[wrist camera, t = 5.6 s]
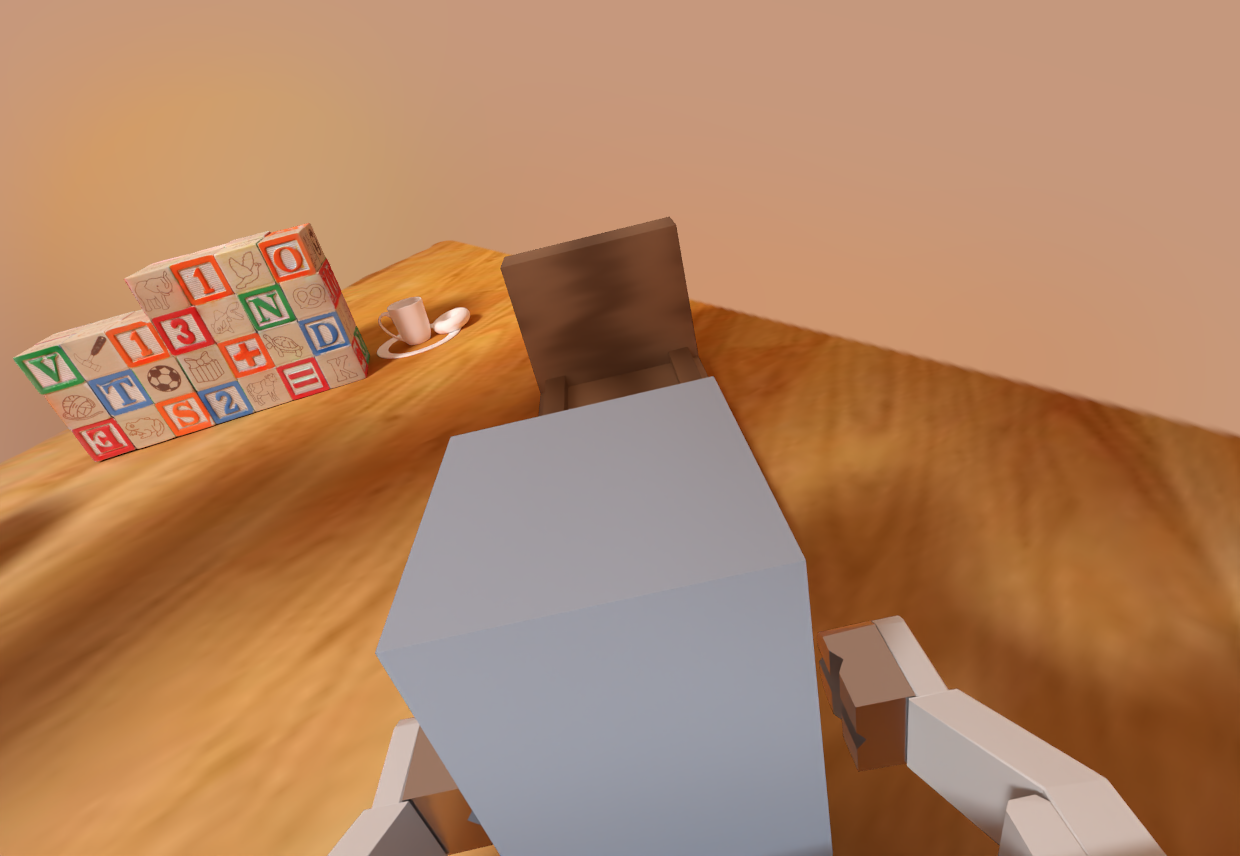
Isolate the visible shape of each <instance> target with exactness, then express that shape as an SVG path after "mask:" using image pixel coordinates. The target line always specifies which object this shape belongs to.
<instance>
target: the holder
mask: <svg viewBox="0 0 1240 856" xmlns="http://www.w3.org/2000/svg"><path fill="white" fill-rule="evenodd" d="M501 271H502V274H503V277H504V281H505V284H506V287H507V290H508V293H509V296H510V299H511V302H512V305H513V309H514V312H515V315H516V318H517V321H518V324H519V327H520V330H521V333H522V337H523V340H524V343H525V346H526V349H527V352H528V355H529V358H530V361H531V365H532V368H533V371H534V374H535V377H536V380H537V383H538V386H539V389H540V393H541V396H540V406H539V416H543V415H547V414H552V413H556V412H560V411H565V410H569V409H573V408H578V407H582V406H586V405H591V404H595V403H599V402H604V401H608V400H612V399H617V398H621V397H625V396H630V395H634V394H638V393H642V392H647V391H651V390H655V389H660V388H664V387H668V386H673V385H677V384H681V383H686V382H690V381H694V380H699V379H703V378H707V377H708V375H707V373H706V371H705V369H704V367H703V365H702V363H701V360H700V358H699V356H698V350H697V344H696V338H695V333H694V327H693V321H692V315H691V309H690V303H689V297H688V292H687V286H686V280H685V274H684V268H683V263H682V257H681V251H680V245H679V239H678V233H677V227H676V224H675V223H674V222H673V220H672V219H671V218H670V217H666V218H662V219H659V220H654V221H650V222H646V223H642V224H638V225H634V226H630V227H626V228H622V229H617V230H614V231H609V232H605V233H601V234H597V235H593V236H589V237H585V238H581V239H577V240H573V241H569V242H565V243H560V244H557V245H552V246H548V247H544V248H540V249H536V250H532V251H528V252H524V253H520V254H516V255H511V256H507V257H505V258H504V260H503V263H502V265H501ZM539 416H538V417H539Z"/></svg>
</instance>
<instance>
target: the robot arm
mask: <svg viewBox="0 0 1240 856" xmlns="http://www.w3.org/2000/svg"><path fill="white" fill-rule="evenodd" d="M817 644H818V648H819V650H820V652H821V655H822V659H821V660H820V661H819V666H820V674H821V678H822V683H823V687H824V690H825V693H826V696H827V699H828V701H829V704H830V706H831V709H832V711H833V714H835V715H836V716H837V717H839V718H840V719H842V728H843V737H844V740H845V742H846V744H847V747H848V749H849V751H850V753H851V756H852V758H853V760H854V763H855V765H856V767H857V770H858V772H860V771H866V770H872V769H877V768H883V767H889V766H895V765H901V764H907V767H909V768H910V769H911V770H912V771H913V772H914V773H916V774H917V775H918V776H919V777H920V778H921V779H923V780H924V781H925V782H926V783H927V784H928V785H930V786H931V787H932V788H933V789H934V790H935V791H937V792H938V793H939V794H940V795H941V796H942V797H944V798H945V799H946V800H947V801H948V802H949V803H951V804H952V805H953V806H954V807H955V808H956V809H958V810H959V811H960V812H961V813H962V814H963V815H965V816H966V817H967V818H968V819H969V820H970V821H972V822H973V823H974V824H975V825H976V826H977V827H979V828H980V829H981V830H982V831H983V832H984V833H986V834H987V835H988V836H989V837H990V838H991V839H992V840H994V841H995V842H996V843H997V844H998V845H999V846H1000V847H999V852H998V856H1167V855H1166V854H1165V853H1164V851H1163V850H1162V849H1161V848H1160V846H1159V845H1158V844H1157V842H1156V841H1155V840H1154V839H1153V837H1152V836H1151V835H1150V833H1149V832H1148V831H1147V830H1146V828H1145V827H1144V826H1143V824H1142V823H1141V822H1140V821H1139V819H1138V818H1137V817H1136V816H1135V814H1134V813H1133V812H1132V810H1131V809H1130V808H1129V807H1128V805H1127V804H1126V803H1125V801H1124V800H1123V799H1122V798H1121V796H1120V795H1119V794H1118V792H1117V791H1116V790H1115V789H1114V787H1113V786H1112V785H1111V783H1110V782H1109V781H1108V780H1107V779H1106V778H1105V777H1103V776H1101V775H1100V774H1098V773H1096V772H1095V771H1093V770H1091V769H1090V768H1088V767H1087V766H1085V765H1083V764H1082V763H1080V762H1078V761H1077V760H1075V759H1073V758H1072V757H1070V756H1068V755H1067V754H1065V753H1063V752H1062V751H1060V750H1058V749H1057V748H1055V747H1053V746H1052V745H1050V744H1048V743H1047V742H1045V741H1043V740H1042V739H1040V738H1038V737H1037V736H1035V735H1034V734H1032V733H1030V732H1029V731H1027V730H1025V729H1024V728H1022V727H1020V726H1019V725H1017V724H1015V723H1014V722H1012V721H1010V720H1009V719H1007V718H1005V717H1004V716H1002V715H1000V714H999V713H997V712H995V711H994V710H992V709H990V708H989V707H987V706H986V705H984V704H982V703H981V702H979V701H977V700H976V699H974V698H972V697H971V696H969V695H967V694H966V693H964V692H962V691H961V690H959V689H951V690H949V689H948V688H947V686H946V685H945V683H944V681H943V680H942V678H941V677H940V675H939V674H938V672H937V671H936V669H935V667H934V666H933V664H932V663H931V661H930V660H929V658H928V656H927V655H926V653H925V652H924V650H923V649H922V647H921V646H920V644H919V642H918V641H917V639H916V638H915V636H914V635H913V633H912V631H911V630H910V628H909V627H908V625H907V624H906V622H905V621H904V619H903V618H901V617H900V616H899V615H897V616H892V617H887V618H882V619H878V620H873V621H871V622H870V621H865V622H861V623H857V624H852V625H848V626H843V627H839V628H834V629H830V630H826V631H821V632H818V634H817ZM490 845H493V843H492V841H491V840H490V838H489V836H488V835H487V833H486V832H485V830H484V828H483V827H482V825H481V823H480V822H479V820H478V819H477V817H476V815H475V814H474V812H473V811H472V809H471V807H470V806H469V804H468V802H467V801H466V799H465V798H464V796H463V794H462V793H461V791H460V790H459V788H458V786H457V785H456V783H455V781H454V780H453V778H452V777H451V775H450V773H449V772H448V770H447V769H446V767H445V765H444V764H443V762H442V760H441V759H440V757H439V756H438V754H437V752H436V751H435V749H434V748H433V746H432V744H431V743H430V741H429V739H428V738H427V736H426V735H425V733H424V731H423V730H422V728H421V727H420V725H419V723H418V722H417V720H416V718H415V717H412V718H407V719H402V720H400V721H399V722H398V724H397V725H396V727H395V728H394V731H393V734H392V738H391V741H390V745H389V748H388V752H387V756H386V759H385V763H384V766H383V770H382V773H381V777H380V781H379V784H378V788H377V791H376V795H375V798H374V802H373V806H372V808H370V809H366V810H364V811H363V812H362V813H361V814H360V816H359V817H358V818H357V819H356V821H355V822H354V823H353V824H352V826H351V827H350V828H349V829H348V831H347V832H346V833H345V834H344V835H343V837H342V838H341V839H340V840H339V842H338V843H337V844H336V845H335V847H334V848H333V849H332V850H331V852H330V853H329V854H328V855H327V856H447V855H451V854H456V853H460V852H464V851H469V850H473V849H477V848H482V847H486V846H490Z"/></svg>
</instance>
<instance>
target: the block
mask: <svg viewBox="0 0 1240 856" xmlns="http://www.w3.org/2000/svg"><path fill="white" fill-rule="evenodd" d="M375 654H376V655H377V657H378V659H379V660H380V662H381V664H382V665H383V667H384V668H385V670H386V672H387V673H388V675H389V676H390V678H391V680H392V681H393V683H394V685H395V686H396V688H397V689H398V691H399V693H400V694H401V696H402V697H403V699H404V701H405V702H406V704H407V706H408V707H409V709H410V710H411V712H412V714H413V715H414V717H415V718H416V720H417V722H418V723H419V725H420V727H421V728H422V730H423V731H424V733H425V735H426V736H427V738H428V739H429V741H430V743H431V744H432V746H433V748H434V749H435V751H436V752H437V754H438V756H439V757H440V759H441V760H442V762H443V764H444V765H445V767H446V769H447V770H448V772H449V773H450V775H451V777H452V778H453V780H454V781H455V783H456V785H457V786H458V788H459V790H460V791H461V793H462V794H463V796H464V798H465V799H466V801H467V802H468V804H469V806H470V807H471V809H472V811H473V812H474V814H475V815H476V817H477V819H478V820H479V822H480V823H481V825H482V827H483V828H484V830H485V832H486V833H487V835H488V836H489V838H490V840H491V841H492V843H493V844H494V846H495V848H496V849H497V851H498V853H499V854H500V856H833V851H832V840H831V829H830V819H829V808H828V797H827V786H826V775H825V764H824V753H823V742H822V731H821V720H820V710H819V699H818V688H817V677H816V666H815V655H814V644H813V633H812V622H811V611H810V601H809V590H808V579H807V568H806V559H805V557H804V555H803V554H802V552H801V550H800V548H799V546H798V544H797V542H796V540H795V538H794V536H793V534H792V532H791V530H790V528H789V526H788V524H787V522H786V520H785V518H784V516H783V514H782V512H781V510H780V508H779V506H778V504H777V502H776V500H775V498H774V496H773V494H772V492H771V490H770V488H769V486H768V484H767V482H766V480H765V478H764V476H763V474H762V472H761V470H760V468H759V466H758V464H757V462H756V460H755V458H754V456H753V454H752V452H751V450H750V448H749V446H748V444H747V442H746V440H745V438H744V436H743V434H742V432H741V430H740V428H739V426H738V424H737V422H736V420H735V418H734V416H733V414H732V412H731V410H730V408H729V406H728V404H727V402H726V400H725V398H724V396H723V394H722V392H721V390H720V388H719V386H718V384H717V382H716V380H715V378H714V376H712V377H707V378H703V379H699V380H694V381H690V382H686V383H681V384H677V385H673V386H668V387H664V388H660V389H655V390H651V391H647V392H642V393H638V394H634V395H630V396H625V397H621V398H617V399H612V400H608V401H604V402H599V403H595V404H591V405H586V406H582V407H578V408H573V409H569V410H565V411H560V412H556V413H552V414H547V415H543V416H539V417H535V418H530V419H526V420H522V421H517V422H513V423H509V424H504V425H500V426H496V427H491V428H487V429H483V430H478V431H474V432H470V433H465V434H461V435H457V436H452V437H450V440H449V443H448V446H447V449H446V452H445V455H444V457H443V460H442V463H441V466H440V469H439V472H438V475H437V477H436V480H435V483H434V486H433V489H432V492H431V495H430V497H429V500H428V503H427V506H426V509H425V512H424V515H423V517H422V520H421V523H420V526H419V529H418V532H417V535H416V537H415V540H414V543H413V546H412V549H411V552H410V555H409V557H408V560H407V563H406V566H405V569H404V572H403V575H402V578H401V580H400V583H399V586H398V589H397V592H396V595H395V598H394V600H393V603H392V606H391V609H390V612H389V615H388V618H387V620H386V623H385V626H384V629H383V632H382V635H381V638H380V640H379V643H378V646H377V649H376V652H375Z"/></svg>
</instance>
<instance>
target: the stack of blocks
mask: <svg viewBox="0 0 1240 856" xmlns="http://www.w3.org/2000/svg"><path fill="white" fill-rule="evenodd" d="M124 280H125V282H126V283H127V285H128V286H129V288H130V290H131V291H132V293H133V295H134V296H135V298H136V299H137V301H138V302H139V304H140V306H141V308H142V310H139V311H133V312H130V313H126V314H122V315H119V316H115V317H112V318H108V319H105V320H102V321H98V322H95V323H91V324H87V325H84V326H80V327H76V328H73V329H69V330H66V331H62V332H59V333H55V334H53V335H51V336H50V337H48V338H46V339H45V340H42V341H41V342H39V343H37V344H35V346H33V347H31V348H30V349H28V350H26V351H25V352H23V353H21V354H19V355H18V356H16V357H14V358H13V359H14V361H15V362H16V364H17V365H18V366H19V367H20V368H21V370H22V371H23V373H24V374H25V375H26V376H27V378H28V379H29V380H30V381H31V383H32V384H33V385H34V386H35V388H36V389H37V391H38V392H39V393H40V394H42V395H44V397H45V398H46V399H47V401H48V402H49V404H50V405H51V407H52V408H53V409H54V410H55V412H56V413H57V414H58V416H59V417H60V418H61V420H62V421H63V422H64V424H65V425H66V426H67V428H68V429H70V430H72V432H73V434H74V435H75V437H76V438H77V439H78V440H79V442H80V443H81V445H82V446H83V447H84V449H85V450H86V451H87V453H88V454H89V455H90V456H91V458H92V459H93V460H94V461H95V462H98V461H101V460H104V459H107V458H110V457H114V456H117V455H120V454H123V453H126V452H129V451H132V450H135V449H136V448H137V449H140V448H144V447H147V446H150V445H153V444H156V443H160V442H163V441H166V440H169V439H172V438H175V437H176V436H182V435H185V434H188V433H191V432H195V431H198V430H201V429H204V428H208V427H211V426H214V425H215V424H219V423H223V422H226V421H229V420H232V419H235V418H238V417H242V416H245V415H248V414H251V413H254V412H256V411H260V410H264V409H267V408H270V407H273V406H277V405H280V404H283V403H286V402H289V401H292V400H296V399H300V398H303V397H306V396H310V395H313V394H316V393H319V392H323V391H326V390H329V389H330V388H336V387H339V386H342V385H346V384H349V383H352V382H355V381H358V380H362V379H364V378H366V377H367V372H368V363H369V357H370V355H369V352H368V350H367V347H366V345H365V343H364V341H363V339H362V337H361V334H360V332H359V330H358V328H357V326H356V324H355V322H354V319H353V317H352V315H351V312H350V310H349V308H348V306H347V303H346V301H345V299H344V297H343V294H342V293H341V289H340V287H339V285H338V282H337V280H336V278H335V276H334V273H333V271H332V270H331V267H330V264H329V262H328V260H327V259H326V257H325V255H324V253H323V251H322V249H321V246H320V244H319V242H318V240H317V237H316V235H315V233H314V231H313V229H312V226H311V224H310V223H307V224H303V225H299V226H296V227H292V228H288V229H284V230H280V231H276V232H273V233H271V232H269V231H266V232H263V233H259V234H255V235H251V236H247V237H243V238H240V239H236V240H232V241H231V242H229V243H227V244H223V245H219V246H216V247H212V248H209V249H205V250H201V251H198V252H195V253H192V254H187V255H183V256H180V257H175V258H172V259H168V260H164V261H160V262H156V263H153V264H151V265H149V266H147V267H145V268H144V269H142V270H140V271H138V272H136V273H135V274H133V275H131V276H128V277H127V278H125V279H124Z"/></svg>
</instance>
